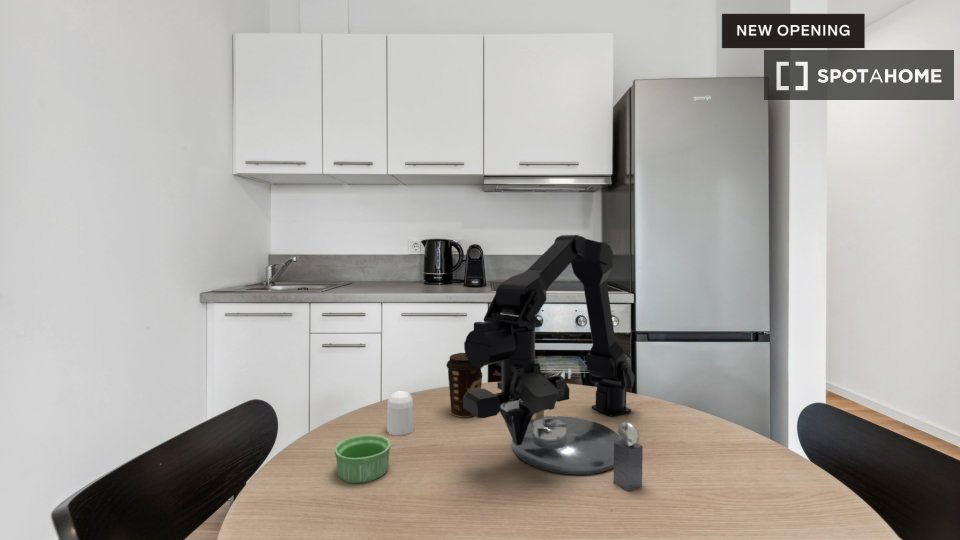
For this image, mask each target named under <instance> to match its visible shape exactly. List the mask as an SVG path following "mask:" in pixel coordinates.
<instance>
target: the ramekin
mask: <svg viewBox="0 0 960 540" xmlns="http://www.w3.org/2000/svg"><path fill="white" fill-rule="evenodd" d="M391 446H392V445H391V440H389V439H388V438H387V437H385V436H383V435H377V434H362V435H356V436H351V437H348V438H345V439H343V440H341V441H340V442H339V443H337V444H336V445H335V447H334V455H335V460H336V467H337V470H336V471H337V474H338V476H339V478H340V479H341V480H342V481H344V482H347V483H350V484H351V483H353V484H362V483H368V482H372V481H374V480H377V479H379V478H381V477H382V476H384V475H385V474H386V473H387V471H388V469H389V459H390V450H391Z"/></svg>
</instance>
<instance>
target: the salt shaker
mask: <svg viewBox="0 0 960 540" xmlns="http://www.w3.org/2000/svg"><path fill="white" fill-rule="evenodd" d="M386 403H387V405H386V408H387V409H386V410H387V412H386V414H387V417H386V418H387V419H386V421H387V426H386V427H387V429H386V430H387V433H388V432H389V433H390V434H389V433H388V434H389V435H391V434H392V436H398V435H399V436H406V435H409V434H411V433H413V432H414V430H415V428H414V427H415V423H414V422H415V420H414V419H415V417H414V416H415V415H414V413H415V412H414V410H415V409H414V399H413V396H412V395H411V394H410V393H409V392H407V391H406V390H405V391H404V390H398V391H395V392H393V393H392V394H391V395H390V396H389V397H388V400H387V402H386ZM410 432H411V433H410ZM408 433H409V434H408ZM405 434H406V435H405Z"/></svg>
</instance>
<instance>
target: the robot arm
mask: <svg viewBox="0 0 960 540" xmlns="http://www.w3.org/2000/svg"><path fill="white" fill-rule="evenodd" d="M613 259H614V253H613V250H612V246H610V245H609V244H608V243H606V242H605V241H596V240H594V239H593V240H592V239H589V238H586V237H584V236H582V235H579V234H562V235H561V234H560V235H559V236H557V237H556V238H555V239H554V243H552V245H551V246H550V247H549V248H547V250H546V251H545V252H544V253H542V255H540V257H538V258H537V260H535V262H534V263H532V265H531V266H530V267H528V268H527V269H526V270H525V271H522V273H518V274H516V275H513V276H511V277H509V278H507V279H506V280H504V281H503V282H501V283H500V284H499V285H498V287H497V288H496V290H495V295H494V297H493V298H492V300H491V302H490V304H489V307H488V309H487V311H486V313H485V315H484V317H483V321H475V322H474V323H473V329H472V330H471V331H470V332H469V333H468V334H467V336H466V338H465V341H464V343H463V348H464V353H465V354H466V356H467V358H468V360H469V361H470V362H471V363H472V364H473V365H475V366H477V367H482V366H483V367H485V366H489V365H492V364H496V363H497V366H500V368H501V370H500V371H501V378H500V379H501V381H498V382H497V383H496V384H497V387H496V388H497V389H499V390H500V391H501V392H496V393H494V392H491V391H490V390H488V389H486V388H481V389H479V390H474V391H468V392H467V393H466V394H465V396H464V398H463V408H464V409H466V410H467V411H469V412H470V413H472V414H473V415H474V416H475V418H478V419H486V418H491V417H495V416H498V414H500V415H501V417H502V419H503V420H504V422H505V425H506V427H507V430H508V433H509V435H510V437H511V439H513V442H514V444H516V445H517V446H518V445H521V444H522V442H523V439H524V436H525V433H526V431H527V428H528V425H529V423H530V420H531V418H532V416H533V415H534V414H535V413H539V412H541V411H543V410H544V411H547V410H549V411H551V410H554V409H555V406H556V403H557V402H558V403H559V402H564V401H568V400H570V388H569V385H568V384H567V382H566V380H565V378H564V377H563V376H562V375H561V374H557V375H556V374H555V375H551V376H548V375H547V376H544V375H542V373H541V365H540V362H538V361H536V328H541V327H543V323H542V321H541V320H539V319H538V318H537V315H538V314H539V312H540V311H541V309H542V308H543V306H544V304H545V302H547V299H548V298H547V291H548V289H549V287H551V285H553V283H555V281H556V280H557V279H558V277H560V276H561V274H562V273H563V272H564V271H565V270H566V269H567V268H568V266H569V265H571V269H572V272H573V274H574V276H575V277H576V278H577V279H578V280H579V282H580V283H581V284H582V285H583V292H584V298H585V305H586V310H587V311H586V312H587V317H588V322H589V329H590V335H591V342H592V346H591V348H590V350H589V352H588V353H587V354H586V356H585V360H586V367H587V368H586V371H588V376H589V381H590V383H595V384H596V390H595V404H594V405H591V409H594V410H596V411H597V412H600V413H602V414H605V415H607V416H609V417H616V416H619V415H625V414H628V413H632V408H630V407H627V390H629V389H633V387H634V385H635V384H634V383H635V378H636V376H635V374H634V372H633V369H632V368H631V367H630V365H629V363H628V361H627V357H626V353H625V350H624V349H623V348H622V346H621V345H620V344H619V343H618V342H617V341H616V337H615V336H616V335H615V328H614V320H613V316H612V310H611V300H610V296H609V295H610V294H609V290H608V289H609V288H608V278H609V276H610V274H611V272H612V270H613ZM483 367H482V368H483Z"/></svg>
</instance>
